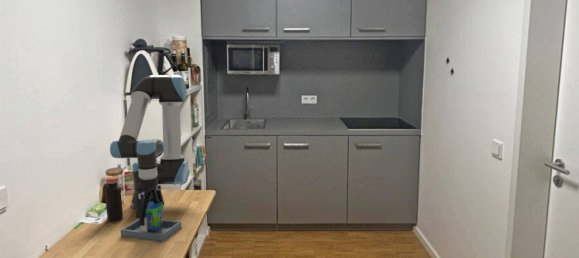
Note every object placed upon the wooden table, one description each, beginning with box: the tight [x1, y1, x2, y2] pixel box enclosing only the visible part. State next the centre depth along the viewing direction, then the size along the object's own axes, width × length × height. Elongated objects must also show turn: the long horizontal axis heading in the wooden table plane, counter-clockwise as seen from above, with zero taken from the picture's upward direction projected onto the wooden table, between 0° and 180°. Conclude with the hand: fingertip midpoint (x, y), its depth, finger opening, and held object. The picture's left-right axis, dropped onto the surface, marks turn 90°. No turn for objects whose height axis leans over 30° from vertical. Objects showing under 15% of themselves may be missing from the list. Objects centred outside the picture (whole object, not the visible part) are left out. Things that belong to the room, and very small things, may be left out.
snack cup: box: [145, 202, 165, 231], centre depth 192 cm, size 16×10×10 cm
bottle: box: [104, 175, 124, 223], centre depth 207 cm, size 7×7×20 cm
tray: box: [120, 218, 183, 243], centre depth 193 cm, size 15×20×3 cm
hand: (151, 227), depth 193 cm, fingers closed on snack cup, 10 cm apart
